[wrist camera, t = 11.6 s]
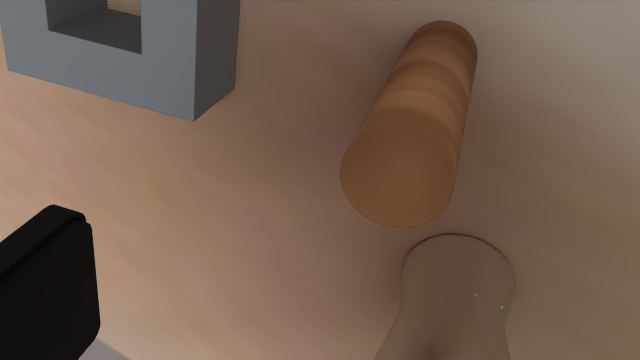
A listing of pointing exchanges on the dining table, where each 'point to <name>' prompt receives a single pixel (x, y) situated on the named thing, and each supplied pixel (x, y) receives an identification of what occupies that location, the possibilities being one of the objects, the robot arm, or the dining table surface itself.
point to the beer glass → (452, 303)
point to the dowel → (413, 131)
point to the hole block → (128, 50)
